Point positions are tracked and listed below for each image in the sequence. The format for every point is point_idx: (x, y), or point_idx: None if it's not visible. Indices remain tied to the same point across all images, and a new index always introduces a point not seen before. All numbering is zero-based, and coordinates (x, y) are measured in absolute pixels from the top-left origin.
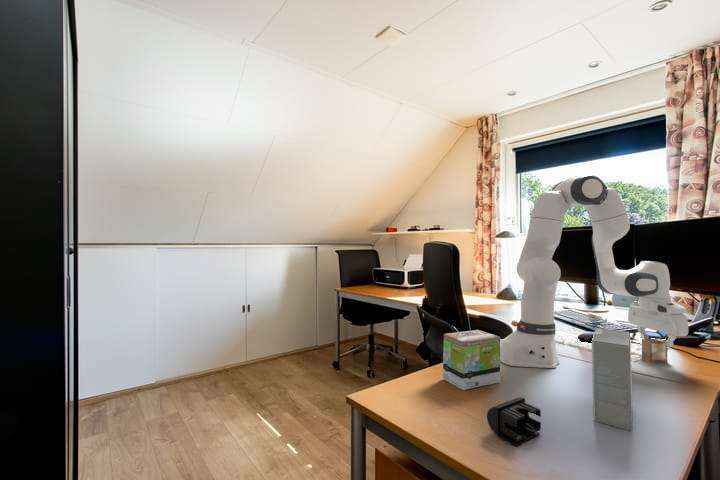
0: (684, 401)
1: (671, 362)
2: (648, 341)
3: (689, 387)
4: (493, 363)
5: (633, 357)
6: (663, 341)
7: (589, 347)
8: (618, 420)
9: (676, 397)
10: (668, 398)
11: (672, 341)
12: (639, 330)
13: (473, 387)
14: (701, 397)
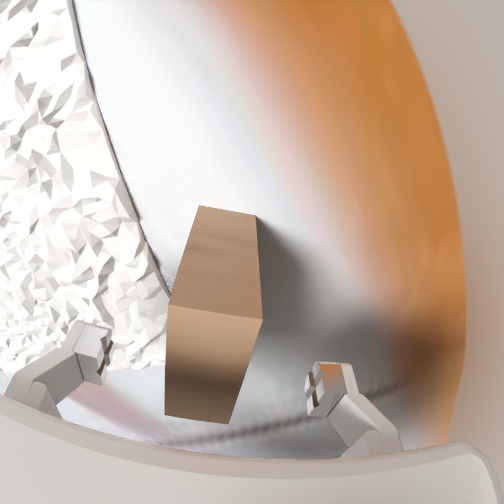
0: (423, 434)
1: (257, 180)
2: (221, 420)
3: (422, 389)
4: None
5: (146, 313)
6: (253, 347)
7: (30, 357)
8: None
9: (410, 435)
10: (402, 445)
11: (356, 396)
12: (57, 399)
13: None
14: (444, 405)
